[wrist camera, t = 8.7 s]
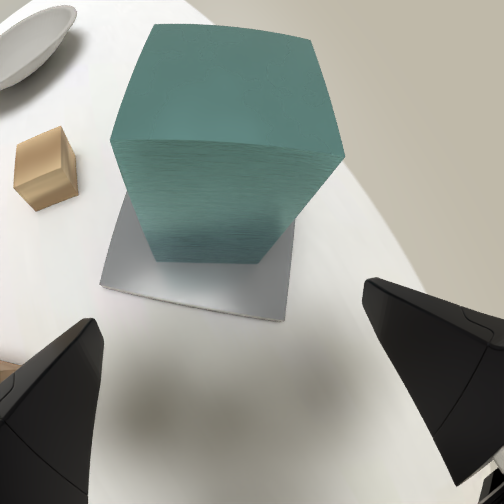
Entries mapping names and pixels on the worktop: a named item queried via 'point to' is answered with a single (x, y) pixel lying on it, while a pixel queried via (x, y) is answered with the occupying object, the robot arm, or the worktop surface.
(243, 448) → the worktop surface
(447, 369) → the robot arm
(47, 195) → the block
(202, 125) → the tall teal box
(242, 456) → the worktop surface
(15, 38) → the dish
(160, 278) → the plate
